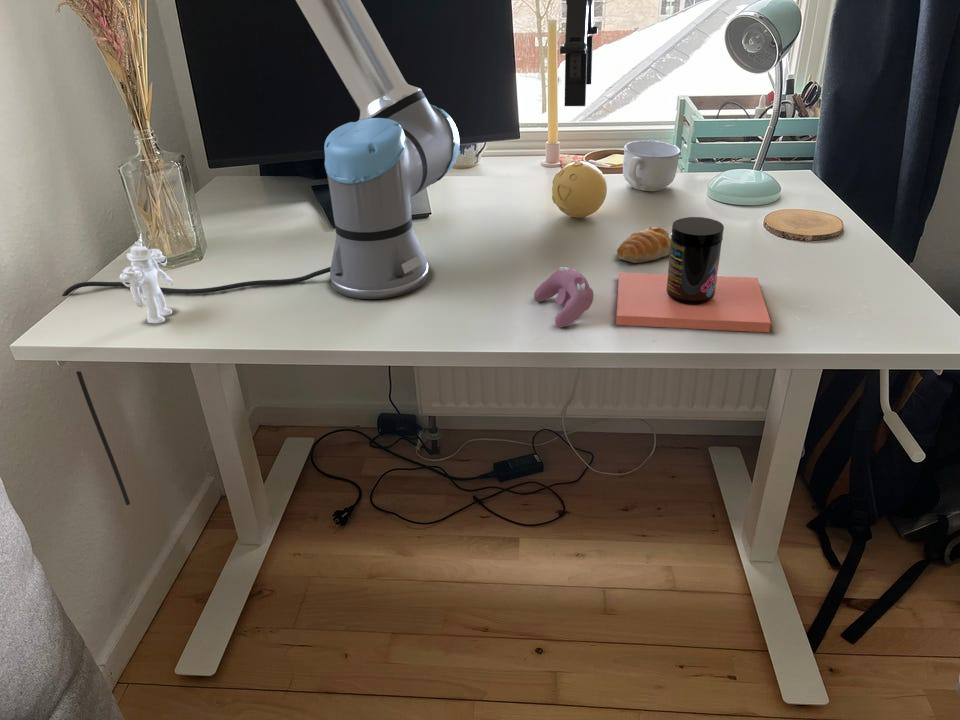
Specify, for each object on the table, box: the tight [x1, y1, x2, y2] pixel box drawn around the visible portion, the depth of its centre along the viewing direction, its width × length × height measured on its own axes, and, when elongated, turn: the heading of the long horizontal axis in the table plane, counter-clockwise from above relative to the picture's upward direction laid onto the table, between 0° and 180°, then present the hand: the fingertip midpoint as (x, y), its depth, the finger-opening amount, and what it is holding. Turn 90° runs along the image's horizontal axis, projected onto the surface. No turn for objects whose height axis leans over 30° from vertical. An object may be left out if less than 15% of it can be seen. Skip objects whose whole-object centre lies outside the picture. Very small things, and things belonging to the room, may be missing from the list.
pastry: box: [616, 226, 671, 264], centre depth 122 cm, size 9×7×4 cm
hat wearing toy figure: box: [119, 233, 174, 324], centre depth 108 cm, size 9×4×12 cm, turn 170°
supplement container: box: [666, 216, 725, 305], centre depth 104 cm, size 7×7×10 cm
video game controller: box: [533, 266, 595, 328], centre depth 106 cm, size 10×5×7 cm, turn 17°
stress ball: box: [551, 160, 608, 218], centre depth 137 cm, size 10×10×10 cm
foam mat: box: [615, 272, 772, 333], centre depth 107 cm, size 20×14×2 cm
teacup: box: [622, 140, 681, 192], centre depth 149 cm, size 14×11×8 cm
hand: (578, 94), depth 105 cm, fingers open, 13 cm apart
